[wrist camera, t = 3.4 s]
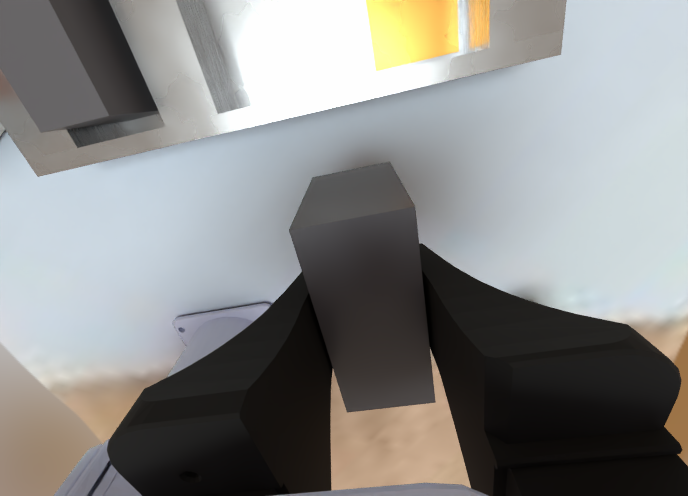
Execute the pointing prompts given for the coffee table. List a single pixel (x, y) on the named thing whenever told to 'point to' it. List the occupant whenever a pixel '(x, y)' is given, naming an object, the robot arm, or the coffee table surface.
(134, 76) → the dark grey rectangular block
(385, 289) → the dark grey block piece
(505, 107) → the coffee table surface
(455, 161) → the coffee table surface
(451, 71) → the rack
